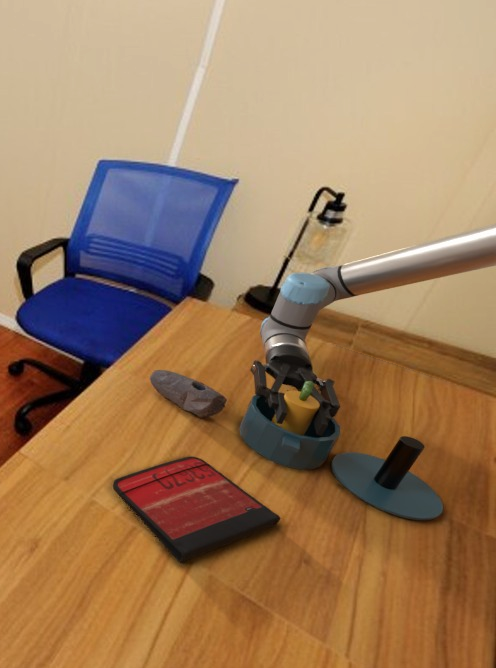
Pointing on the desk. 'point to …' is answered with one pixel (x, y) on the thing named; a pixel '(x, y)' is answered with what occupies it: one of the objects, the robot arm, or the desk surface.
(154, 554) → the desk surface
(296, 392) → the yellow cylinder green stem
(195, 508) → the binder
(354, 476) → the pot lid
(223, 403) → the perforated stone tool
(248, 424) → the pot
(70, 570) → the desk surface
